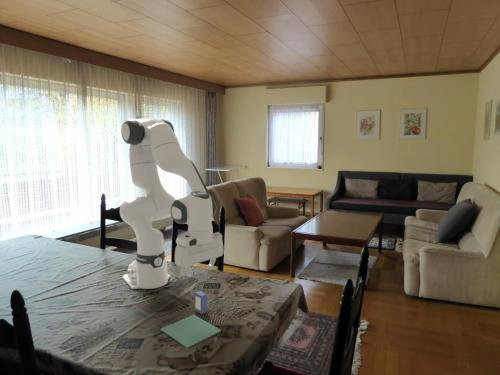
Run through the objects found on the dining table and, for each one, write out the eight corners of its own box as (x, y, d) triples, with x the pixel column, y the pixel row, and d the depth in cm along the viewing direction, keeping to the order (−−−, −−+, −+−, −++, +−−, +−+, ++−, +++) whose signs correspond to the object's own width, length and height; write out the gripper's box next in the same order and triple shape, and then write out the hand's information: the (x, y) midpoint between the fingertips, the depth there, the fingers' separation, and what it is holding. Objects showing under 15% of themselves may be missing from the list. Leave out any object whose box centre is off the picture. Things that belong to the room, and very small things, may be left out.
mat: (160, 329, 123) (160, 328, 122) (193, 315, 133) (193, 314, 133) (187, 348, 112) (187, 347, 112) (221, 331, 122) (221, 330, 122)
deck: (194, 310, 137) (194, 292, 136) (199, 308, 138) (199, 290, 137) (201, 314, 134) (201, 296, 133) (206, 311, 136) (206, 294, 135)
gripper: (216, 229, 142) (216, 263, 144) (172, 239, 127) (172, 277, 129) (227, 232, 137) (227, 267, 139) (182, 243, 123) (183, 282, 125)
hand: (200, 272), depth 134 cm, fingers open, 8 cm apart
